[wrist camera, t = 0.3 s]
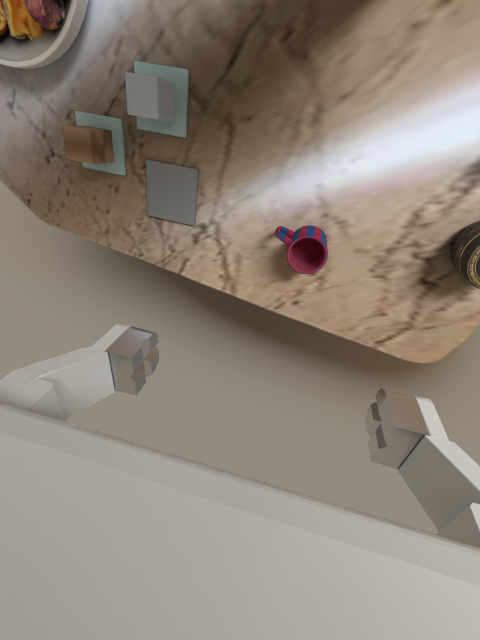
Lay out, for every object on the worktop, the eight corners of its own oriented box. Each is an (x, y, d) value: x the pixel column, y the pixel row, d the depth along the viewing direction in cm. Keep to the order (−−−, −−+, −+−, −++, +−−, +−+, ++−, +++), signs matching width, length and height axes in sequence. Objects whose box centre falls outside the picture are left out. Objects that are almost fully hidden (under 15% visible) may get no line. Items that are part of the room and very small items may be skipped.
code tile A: (76, 110, 51) (74, 110, 51) (122, 119, 50) (120, 119, 50) (84, 166, 56) (82, 167, 56) (126, 175, 55) (124, 175, 55)
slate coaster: (147, 159, 53) (145, 159, 52) (198, 169, 52) (197, 169, 51) (149, 214, 59) (147, 215, 58) (195, 225, 57) (194, 225, 57)
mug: (308, 267, 56) (307, 281, 51) (270, 233, 55) (264, 244, 49) (334, 241, 53) (336, 254, 47) (294, 205, 51) (291, 213, 46)
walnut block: (86, 125, 52) (61, 124, 47) (111, 130, 51) (89, 129, 46) (90, 157, 55) (67, 159, 50) (114, 162, 54) (93, 164, 49)
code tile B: (135, 61, 46) (133, 60, 45) (189, 69, 45) (187, 69, 44) (138, 128, 51) (136, 128, 50) (186, 137, 50) (185, 137, 49)
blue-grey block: (146, 79, 46) (124, 71, 41) (175, 83, 45) (157, 76, 40) (147, 116, 49) (127, 114, 44) (174, 121, 48) (157, 119, 43)
